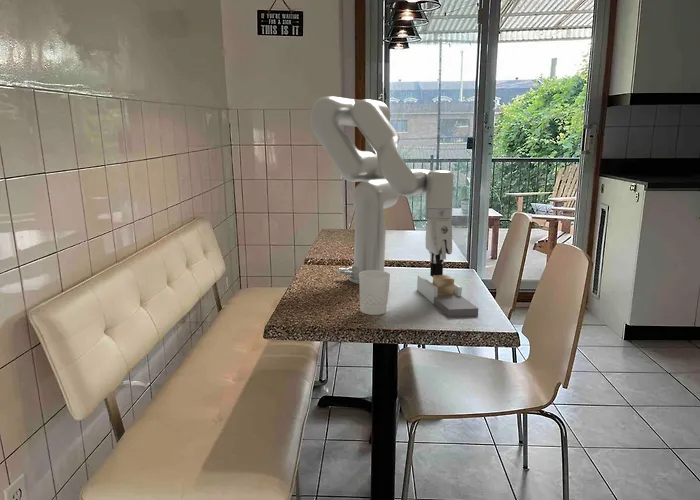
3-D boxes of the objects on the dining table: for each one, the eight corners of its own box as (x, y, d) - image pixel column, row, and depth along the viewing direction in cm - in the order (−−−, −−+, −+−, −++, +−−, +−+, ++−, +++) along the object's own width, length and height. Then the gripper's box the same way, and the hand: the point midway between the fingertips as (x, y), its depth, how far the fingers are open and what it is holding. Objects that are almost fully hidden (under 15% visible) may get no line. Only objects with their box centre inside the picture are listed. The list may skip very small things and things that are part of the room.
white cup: (394, 311, 140) (396, 274, 138) (375, 318, 134) (376, 279, 132) (371, 304, 145) (372, 268, 143) (351, 311, 139) (352, 273, 137)
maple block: (437, 295, 148) (438, 279, 147) (432, 290, 153) (433, 275, 152) (453, 294, 149) (454, 278, 148) (447, 290, 154) (448, 274, 153)
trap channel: (448, 317, 136) (449, 300, 136) (416, 289, 160) (417, 275, 159) (477, 315, 138) (479, 299, 137) (442, 289, 162) (443, 274, 161)
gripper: (461, 217, 147) (458, 282, 151) (441, 210, 161) (439, 270, 165) (435, 217, 146) (433, 283, 149) (417, 211, 160) (415, 271, 163)
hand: (436, 276), depth 157 cm, fingers closed
